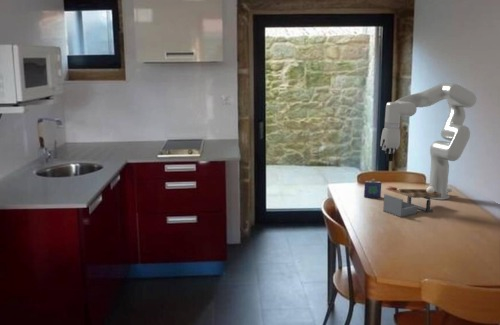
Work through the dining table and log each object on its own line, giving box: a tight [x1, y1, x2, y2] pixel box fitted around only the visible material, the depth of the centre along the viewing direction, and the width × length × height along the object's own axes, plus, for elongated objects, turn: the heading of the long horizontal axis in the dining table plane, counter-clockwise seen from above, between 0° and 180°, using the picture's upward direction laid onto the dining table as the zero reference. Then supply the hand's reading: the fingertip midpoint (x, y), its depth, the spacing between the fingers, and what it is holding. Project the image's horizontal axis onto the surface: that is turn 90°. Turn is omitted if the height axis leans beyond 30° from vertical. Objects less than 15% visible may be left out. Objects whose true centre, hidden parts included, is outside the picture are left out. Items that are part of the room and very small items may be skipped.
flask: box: [363, 178, 382, 199], centre depth 290 cm, size 9×3×11 cm, turn 87°
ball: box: [425, 186, 434, 193], centre depth 273 cm, size 4×4×4 cm
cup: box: [382, 193, 419, 218], centre depth 263 cm, size 12×12×9 cm
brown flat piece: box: [385, 185, 441, 200], centre depth 272 cm, size 21×21×3 cm
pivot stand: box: [406, 196, 433, 214], centre depth 270 cm, size 4×15×6 cm, turn 31°
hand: (389, 160), depth 275 cm, fingers closed
